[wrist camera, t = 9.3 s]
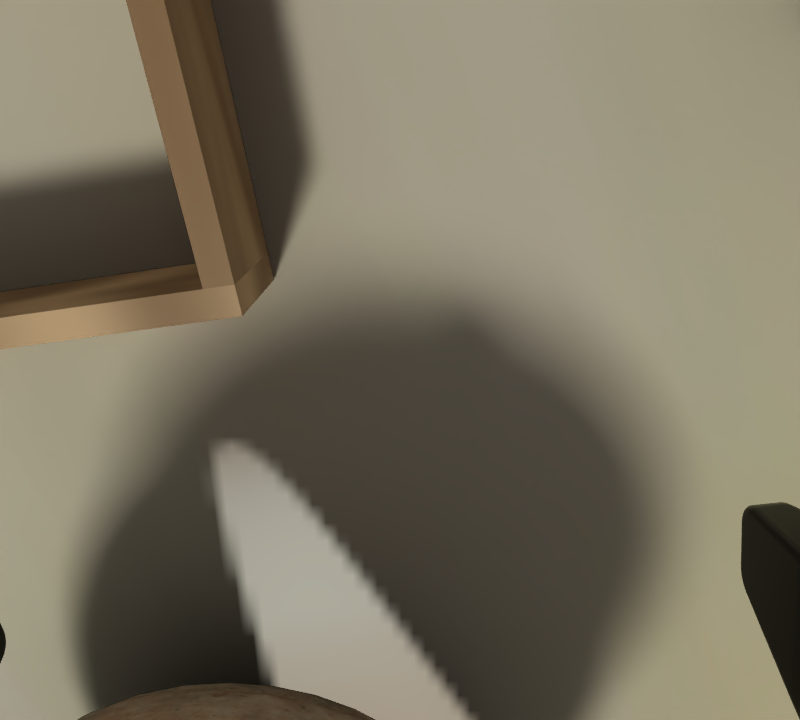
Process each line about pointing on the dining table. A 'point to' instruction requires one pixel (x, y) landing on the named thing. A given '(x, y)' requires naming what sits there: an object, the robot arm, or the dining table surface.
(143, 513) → the dining table surface
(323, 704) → the cooking pot
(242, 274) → the wooden frame
